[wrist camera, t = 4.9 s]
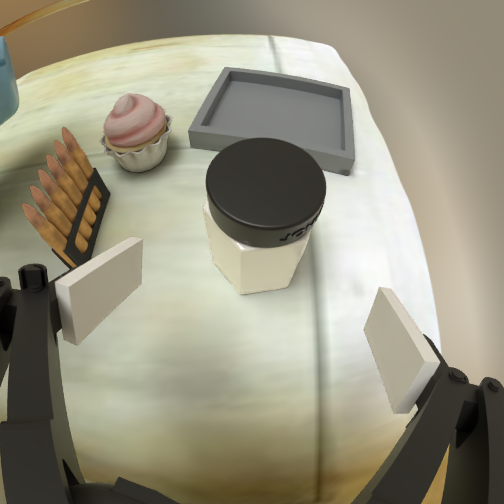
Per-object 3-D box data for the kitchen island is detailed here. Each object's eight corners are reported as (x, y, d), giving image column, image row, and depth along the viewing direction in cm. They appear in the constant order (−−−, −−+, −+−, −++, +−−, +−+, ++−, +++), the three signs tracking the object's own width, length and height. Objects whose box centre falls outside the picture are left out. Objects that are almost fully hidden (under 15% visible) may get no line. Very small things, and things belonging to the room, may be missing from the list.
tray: (190, 147, 36) (188, 130, 34) (225, 81, 44) (224, 67, 41) (347, 175, 35) (355, 160, 33) (345, 102, 43) (349, 88, 40)
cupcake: (165, 186, 33) (147, 121, 24) (100, 180, 34) (72, 123, 25) (187, 134, 38) (179, 73, 29) (127, 131, 38) (110, 76, 29)
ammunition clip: (86, 274, 28) (25, 213, 17) (73, 273, 28) (11, 214, 17) (110, 193, 33) (74, 119, 22) (98, 193, 33) (59, 122, 22)
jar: (282, 309, 28) (310, 254, 17) (201, 280, 28) (180, 210, 18) (307, 232, 31) (338, 152, 21) (235, 208, 32) (235, 122, 22)
